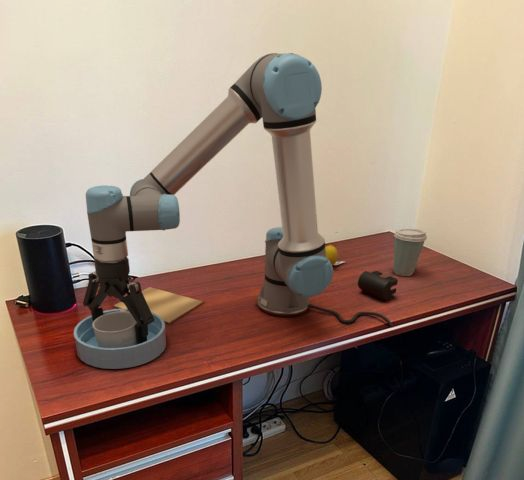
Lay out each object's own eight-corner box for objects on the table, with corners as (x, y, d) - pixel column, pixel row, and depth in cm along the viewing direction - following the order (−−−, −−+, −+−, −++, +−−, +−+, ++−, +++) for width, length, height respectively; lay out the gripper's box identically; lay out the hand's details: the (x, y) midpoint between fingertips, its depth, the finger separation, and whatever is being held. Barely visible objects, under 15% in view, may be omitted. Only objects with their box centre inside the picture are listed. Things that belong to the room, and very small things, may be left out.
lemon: (325, 263, 182) (327, 241, 178) (339, 266, 179) (341, 244, 175) (317, 267, 178) (319, 245, 174) (331, 271, 175) (333, 248, 171)
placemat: (203, 302, 151) (203, 301, 150) (169, 324, 138) (169, 322, 138) (150, 288, 159) (149, 286, 158) (113, 307, 147) (113, 305, 146)
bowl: (183, 340, 131) (182, 321, 128) (125, 379, 114) (123, 358, 112) (119, 320, 140) (117, 301, 137) (57, 354, 123) (53, 334, 120)
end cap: (356, 293, 160) (358, 272, 156) (370, 287, 164) (373, 267, 160) (381, 304, 153) (384, 283, 150) (396, 298, 157) (399, 277, 154)
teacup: (131, 363, 120) (127, 333, 116) (88, 357, 122) (83, 327, 118) (153, 335, 132) (151, 307, 128) (114, 330, 134) (110, 302, 130)
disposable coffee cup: (382, 273, 175) (388, 230, 168) (396, 265, 183) (403, 223, 175) (410, 281, 170) (418, 237, 162) (424, 272, 177) (433, 230, 169)
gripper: (58, 252, 118) (73, 333, 128) (143, 274, 107) (151, 360, 118) (83, 243, 123) (95, 321, 134) (165, 263, 113) (171, 347, 124)
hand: (121, 340), depth 126 cm, fingers open, 13 cm apart
